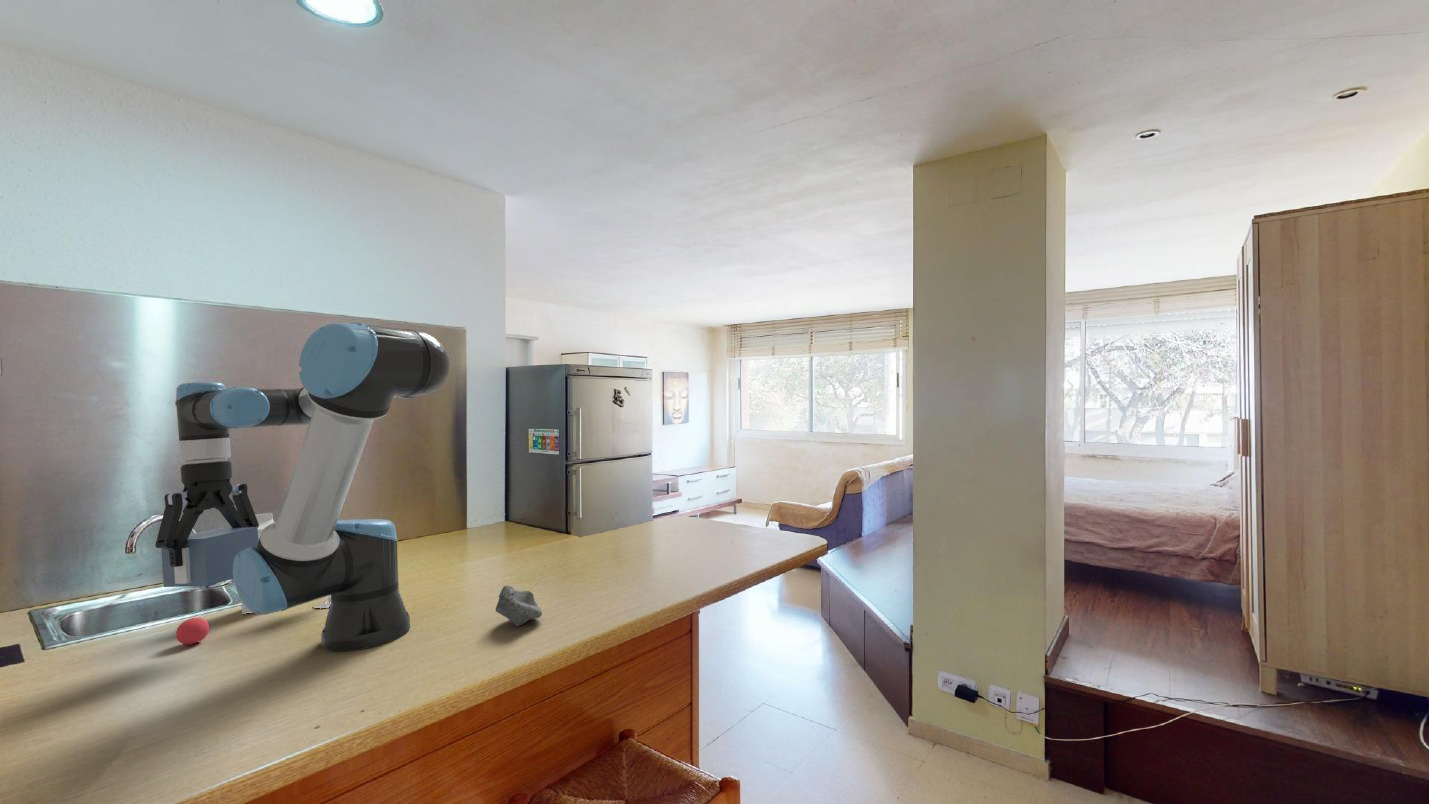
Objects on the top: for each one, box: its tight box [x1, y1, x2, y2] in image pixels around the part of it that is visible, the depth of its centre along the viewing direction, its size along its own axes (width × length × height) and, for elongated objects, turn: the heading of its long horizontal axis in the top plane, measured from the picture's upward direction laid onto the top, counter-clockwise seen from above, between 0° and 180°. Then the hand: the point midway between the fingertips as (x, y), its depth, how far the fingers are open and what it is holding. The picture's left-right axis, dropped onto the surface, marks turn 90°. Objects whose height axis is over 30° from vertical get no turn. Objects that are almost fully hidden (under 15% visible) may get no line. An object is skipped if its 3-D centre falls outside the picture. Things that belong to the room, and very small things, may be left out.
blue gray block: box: [160, 527, 258, 588], centre depth 114 cm, size 10×10×9 cm
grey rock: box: [495, 585, 543, 627], centre depth 119 cm, size 11×9×8 cm
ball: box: [175, 617, 210, 645], centre depth 116 cm, size 5×5×5 cm
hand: (213, 574), depth 114 cm, fingers closed on blue gray block, 10 cm apart
